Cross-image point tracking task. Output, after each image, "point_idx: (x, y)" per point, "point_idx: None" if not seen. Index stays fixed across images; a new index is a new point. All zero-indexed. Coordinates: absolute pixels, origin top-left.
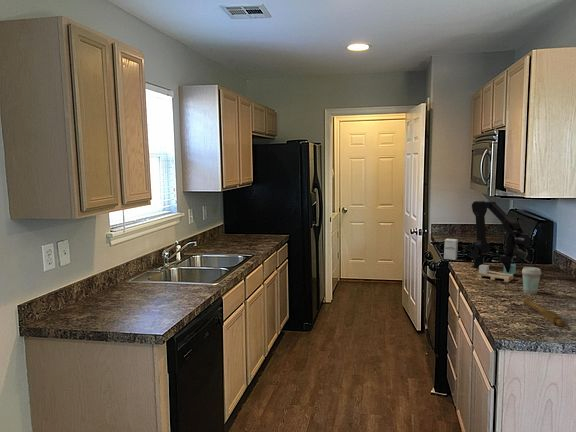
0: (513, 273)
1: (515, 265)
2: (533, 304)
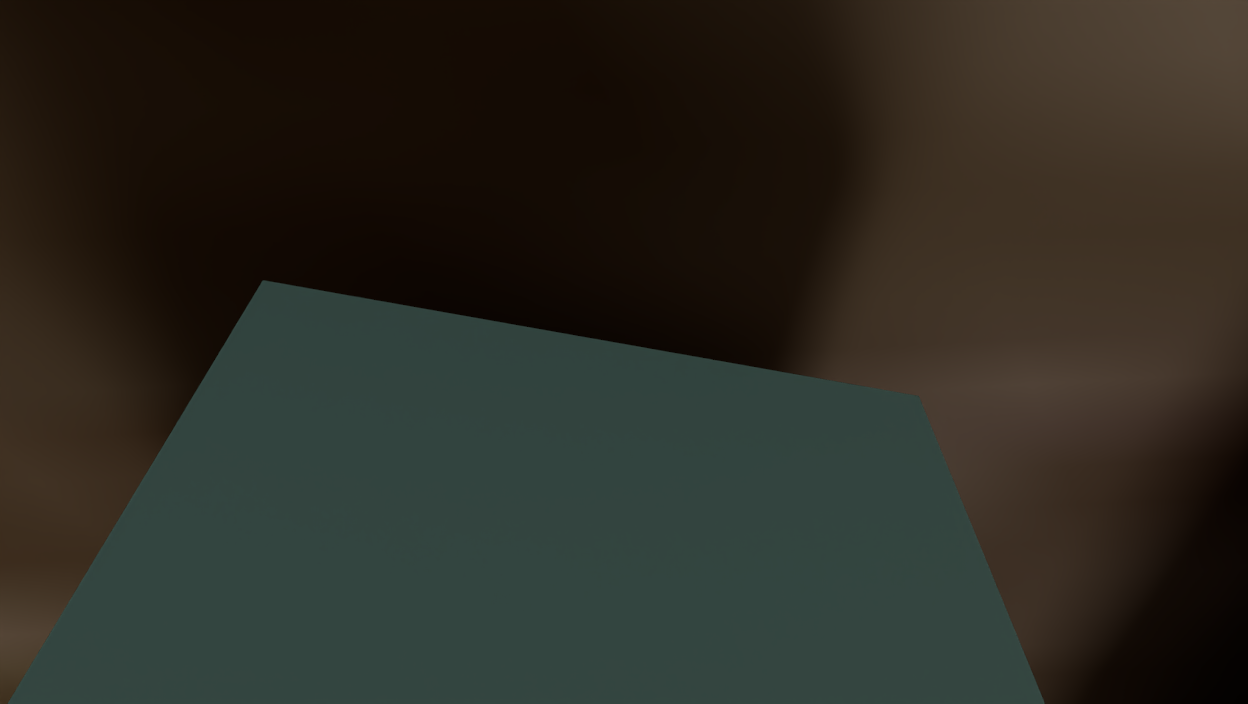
0: (793, 413)
1: None
2: None
